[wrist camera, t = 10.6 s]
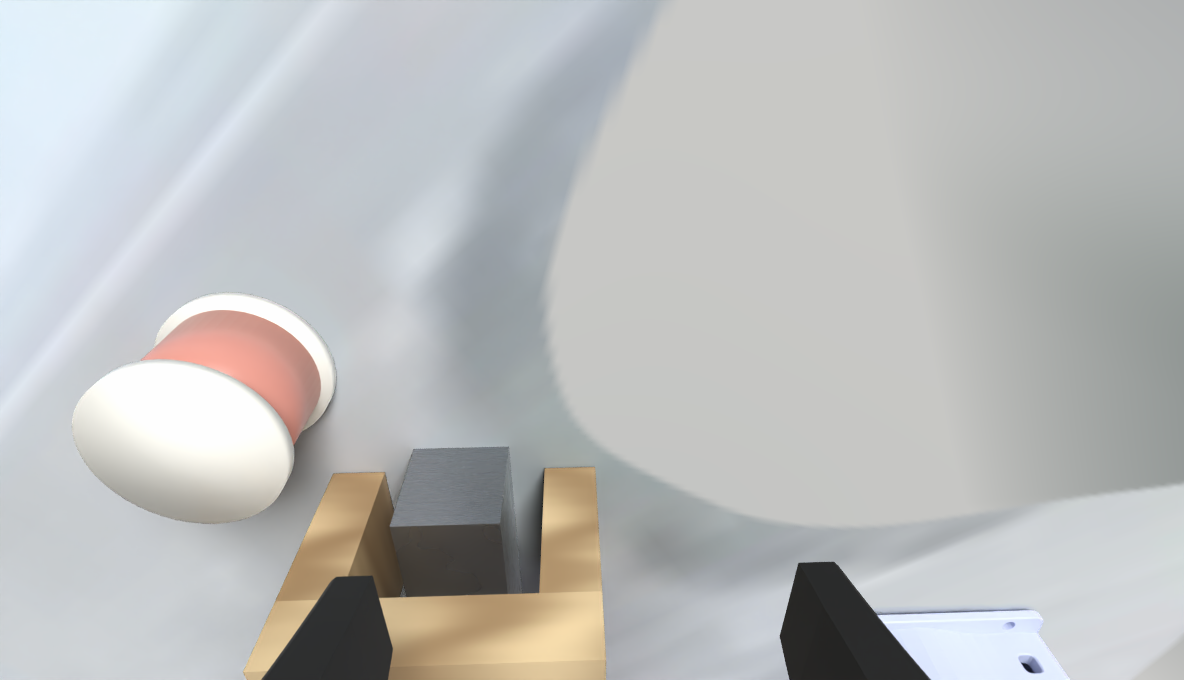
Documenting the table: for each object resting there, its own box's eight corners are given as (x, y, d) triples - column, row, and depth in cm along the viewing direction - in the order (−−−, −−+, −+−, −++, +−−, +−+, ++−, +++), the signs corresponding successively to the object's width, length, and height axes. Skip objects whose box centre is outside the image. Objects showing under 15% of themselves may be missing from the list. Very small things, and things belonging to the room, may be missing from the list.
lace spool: (315, 290, 18) (255, 368, 14) (350, 427, 20) (307, 520, 17) (137, 293, 18) (33, 373, 14) (195, 431, 20) (120, 526, 17)
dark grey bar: (510, 446, 21) (501, 525, 18) (534, 705, 29) (530, 789, 26) (412, 448, 21) (387, 529, 18) (463, 708, 29) (452, 792, 26)
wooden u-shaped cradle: (595, 467, 22) (605, 659, 16) (594, 563, 24) (604, 760, 18) (333, 473, 21) (243, 672, 15) (361, 570, 24) (293, 772, 18)
